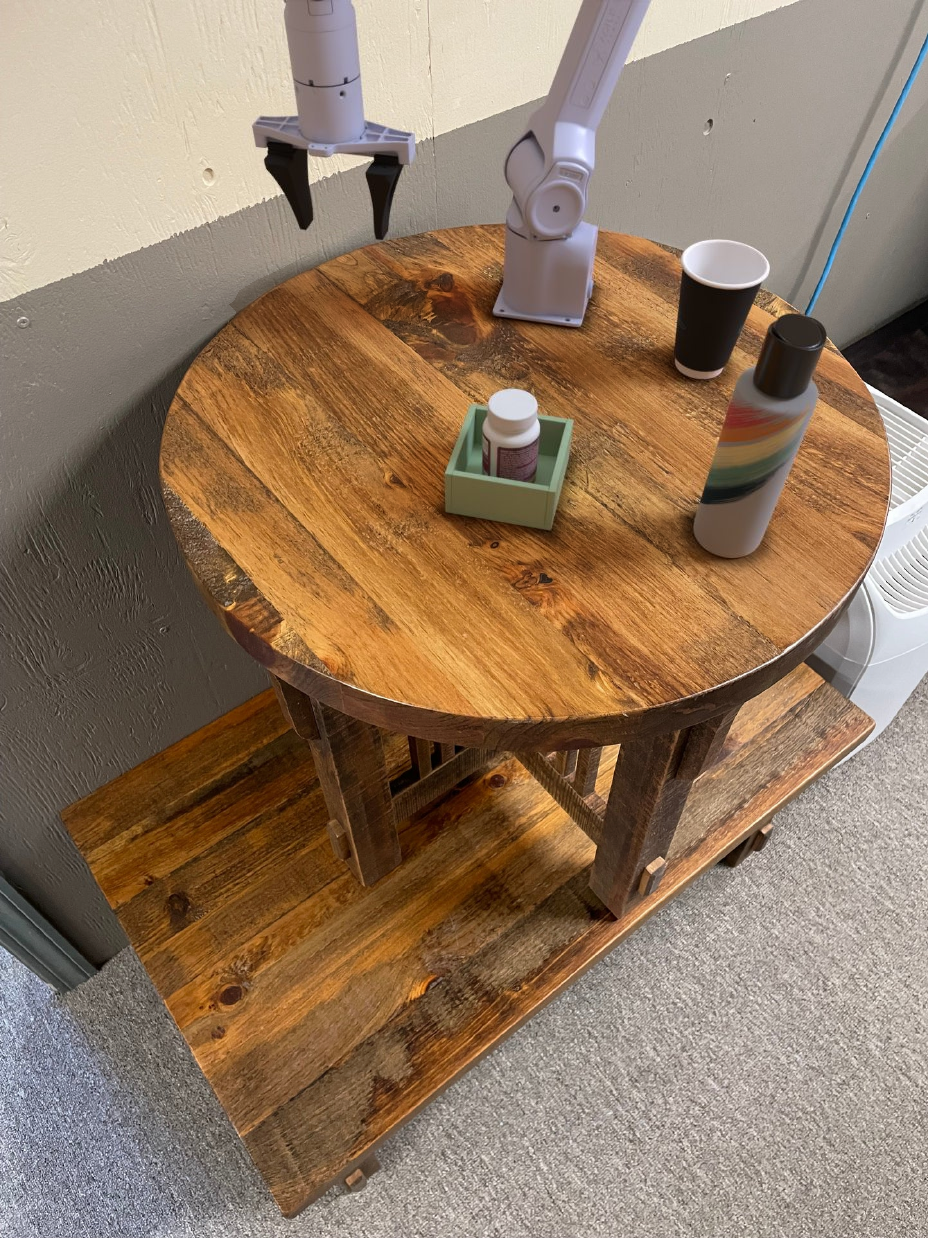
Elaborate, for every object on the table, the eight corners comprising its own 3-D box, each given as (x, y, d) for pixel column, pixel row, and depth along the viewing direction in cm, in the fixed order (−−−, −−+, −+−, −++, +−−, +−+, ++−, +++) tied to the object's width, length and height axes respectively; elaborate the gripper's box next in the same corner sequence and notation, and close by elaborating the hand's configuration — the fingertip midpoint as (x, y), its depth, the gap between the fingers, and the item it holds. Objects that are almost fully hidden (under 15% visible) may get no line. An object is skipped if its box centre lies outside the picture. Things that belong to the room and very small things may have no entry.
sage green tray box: (568, 458, 78) (573, 419, 75) (550, 530, 73) (555, 492, 69) (470, 442, 80) (470, 403, 76) (445, 512, 74) (444, 473, 70)
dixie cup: (643, 352, 88) (663, 250, 79) (708, 333, 90) (734, 231, 81) (688, 397, 83) (714, 294, 75) (755, 375, 86) (788, 273, 77)
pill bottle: (545, 476, 76) (553, 399, 69) (516, 507, 74) (521, 430, 67) (501, 454, 78) (504, 377, 71) (470, 484, 75) (471, 407, 69)
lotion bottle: (722, 500, 75) (792, 291, 59) (774, 538, 72) (862, 329, 56) (677, 530, 73) (737, 321, 57) (729, 570, 70) (807, 363, 54)
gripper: (227, 83, 71) (258, 241, 82) (395, 101, 69) (404, 260, 80) (259, 51, 75) (284, 204, 86) (419, 67, 73) (424, 222, 84)
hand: (344, 229), depth 83 cm, fingers open, 7 cm apart
